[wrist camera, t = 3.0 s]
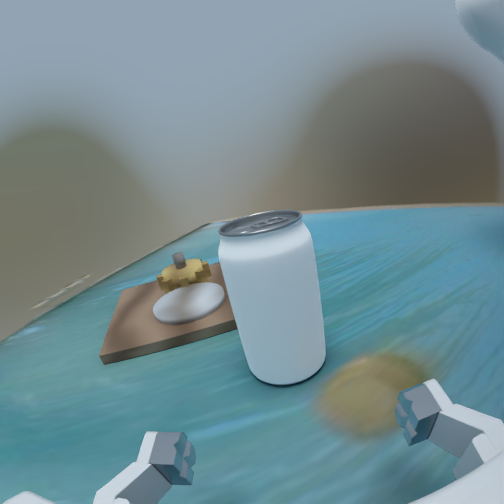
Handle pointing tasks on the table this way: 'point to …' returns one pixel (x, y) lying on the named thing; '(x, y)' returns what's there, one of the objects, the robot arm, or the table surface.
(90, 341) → the table surface
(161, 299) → the board
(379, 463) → the table surface
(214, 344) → the table surface
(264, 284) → the can
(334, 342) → the table surface
